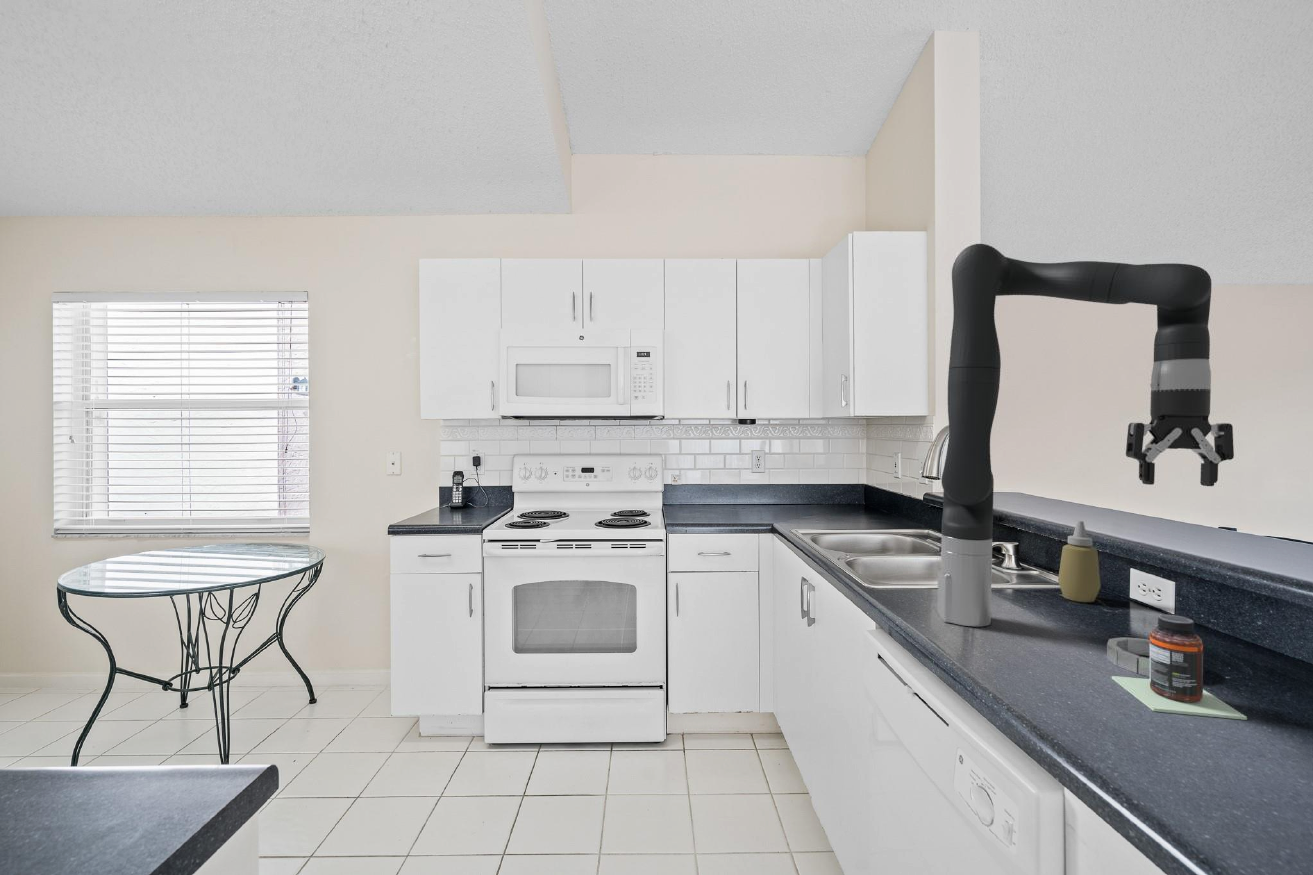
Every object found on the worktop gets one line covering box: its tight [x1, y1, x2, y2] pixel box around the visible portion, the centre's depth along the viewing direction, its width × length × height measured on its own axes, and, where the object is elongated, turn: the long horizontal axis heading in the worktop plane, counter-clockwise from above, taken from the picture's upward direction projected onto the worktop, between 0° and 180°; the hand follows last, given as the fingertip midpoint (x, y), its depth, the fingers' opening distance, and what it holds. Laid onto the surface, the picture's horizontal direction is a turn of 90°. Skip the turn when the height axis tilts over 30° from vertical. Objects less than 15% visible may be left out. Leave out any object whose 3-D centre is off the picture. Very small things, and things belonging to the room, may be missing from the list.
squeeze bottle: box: [1057, 520, 1101, 603], centre depth 137 cm, size 8×8×18 cm
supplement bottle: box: [1149, 614, 1204, 702], centre depth 88 cm, size 6×6×11 cm
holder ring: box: [1106, 636, 1150, 677], centre depth 99 cm, size 12×12×2 cm
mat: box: [1111, 675, 1248, 721], centre depth 88 cm, size 11×11×1 cm
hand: (1177, 485), depth 100 cm, fingers open, 8 cm apart
